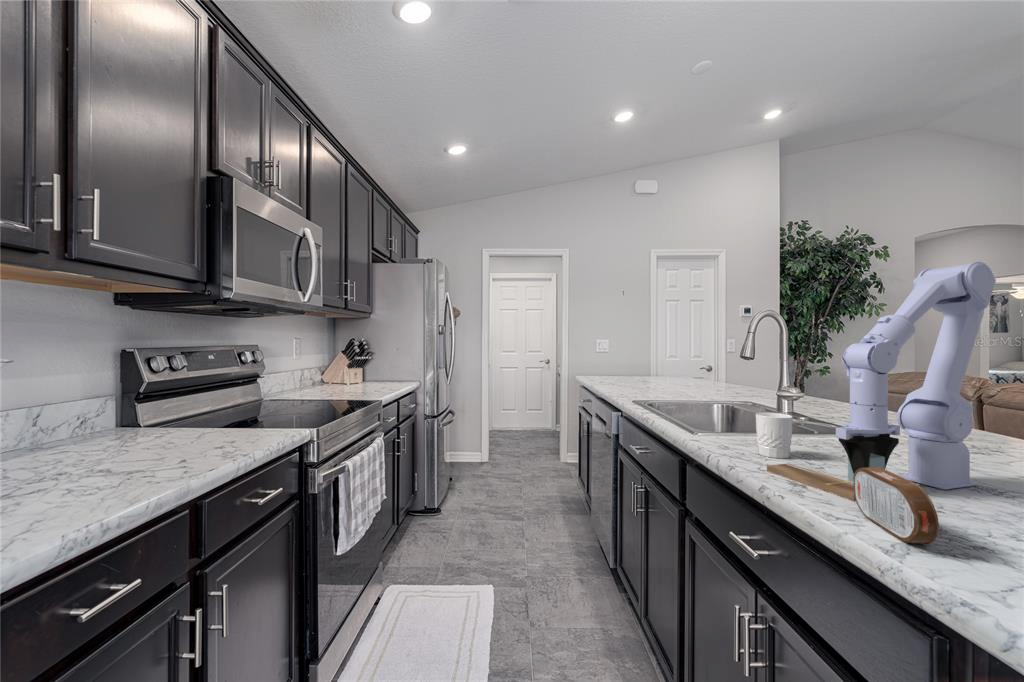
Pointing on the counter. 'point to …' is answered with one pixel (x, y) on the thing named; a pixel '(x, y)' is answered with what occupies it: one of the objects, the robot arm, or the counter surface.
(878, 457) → the block
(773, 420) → the white cup
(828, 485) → the walnut board
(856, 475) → the tin
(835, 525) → the counter surface
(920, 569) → the counter surface
